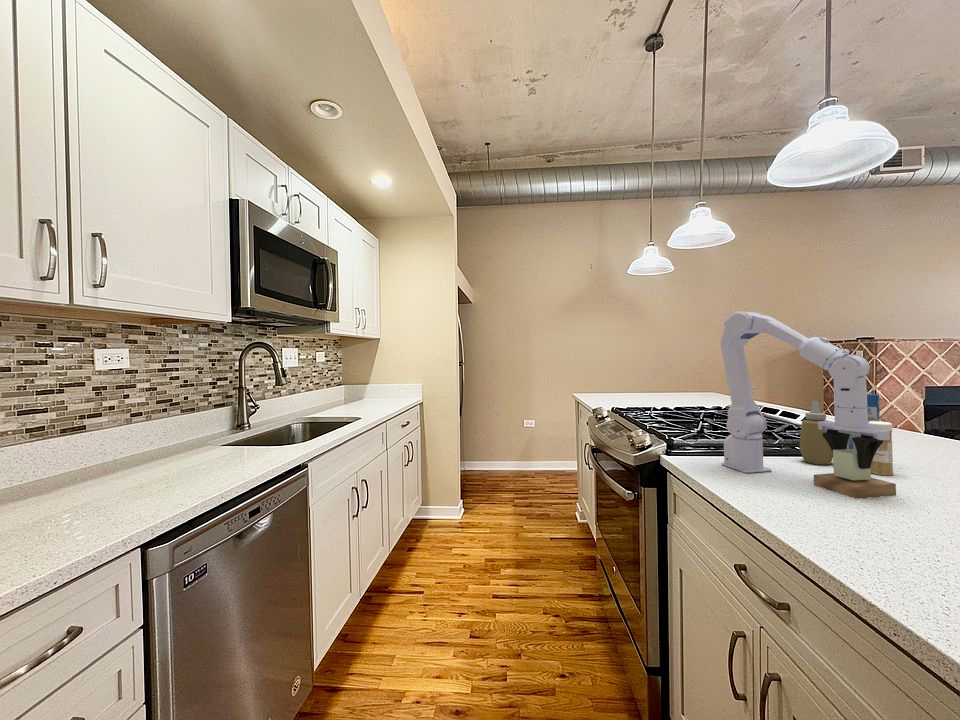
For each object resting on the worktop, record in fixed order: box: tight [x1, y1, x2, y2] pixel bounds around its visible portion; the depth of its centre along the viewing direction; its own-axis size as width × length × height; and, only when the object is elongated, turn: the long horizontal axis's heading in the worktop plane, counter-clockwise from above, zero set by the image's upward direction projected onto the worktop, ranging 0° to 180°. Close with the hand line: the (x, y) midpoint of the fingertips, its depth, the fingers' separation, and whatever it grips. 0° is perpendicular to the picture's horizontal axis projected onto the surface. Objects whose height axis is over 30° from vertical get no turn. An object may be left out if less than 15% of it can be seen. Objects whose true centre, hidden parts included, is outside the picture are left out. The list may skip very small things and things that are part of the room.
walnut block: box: [813, 472, 897, 500], centre depth 95 cm, size 10×10×3 cm
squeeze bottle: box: [798, 400, 833, 466], centre depth 118 cm, size 8×8×18 cm
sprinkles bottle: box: [868, 420, 894, 477], centre depth 106 cm, size 5×5×13 cm
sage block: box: [832, 449, 872, 480], centre depth 95 cm, size 4×4×6 cm
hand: (852, 465), depth 95 cm, fingers open, 5 cm apart
